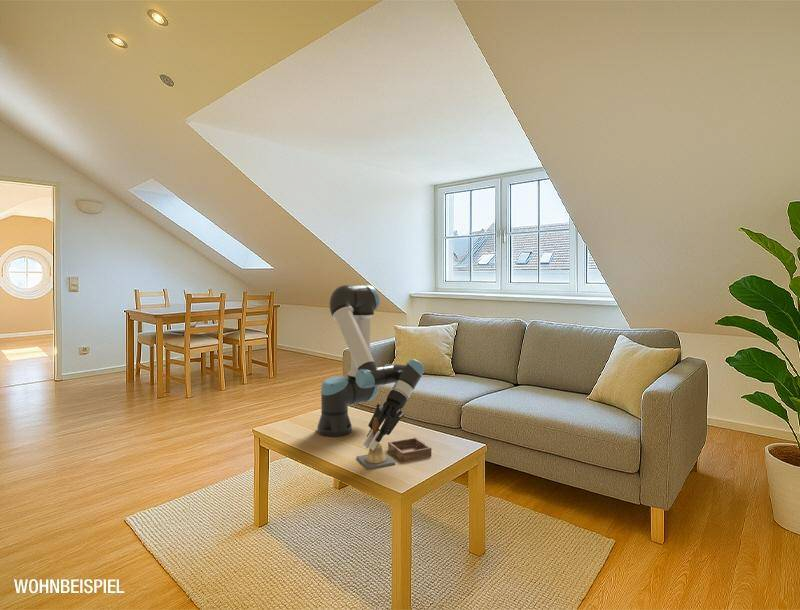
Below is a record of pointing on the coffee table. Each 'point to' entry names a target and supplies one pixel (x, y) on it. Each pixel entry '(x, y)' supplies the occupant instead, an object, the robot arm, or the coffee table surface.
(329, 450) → the coffee table surface
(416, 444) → the brown wooden square frame
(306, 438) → the coffee table surface
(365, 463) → the grey rubber pad
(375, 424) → the hand bell
